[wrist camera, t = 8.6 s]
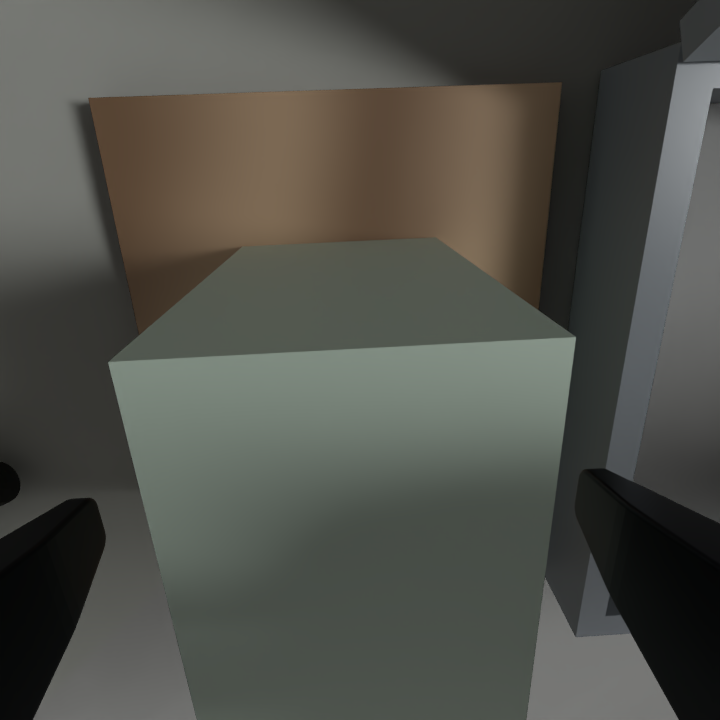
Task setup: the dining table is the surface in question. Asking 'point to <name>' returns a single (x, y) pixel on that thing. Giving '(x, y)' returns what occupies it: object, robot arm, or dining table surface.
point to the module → (350, 481)
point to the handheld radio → (8, 483)
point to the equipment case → (627, 281)
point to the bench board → (327, 177)
